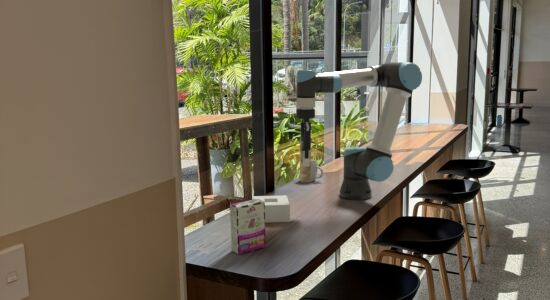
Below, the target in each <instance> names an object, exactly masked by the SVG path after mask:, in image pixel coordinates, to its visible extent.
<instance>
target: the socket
mask: <svg viewBox="0 0 550 300" xmlns="http://www.w3.org/2000/svg"><path fill="white" fill-rule="evenodd" d="M254 199H259V200H262V201H264V202H265V223H290V222H291V204H290V202H289V199H288V195H285V194H284V195H256V196H255V195H253V197H252V200H254Z"/></svg>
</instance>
